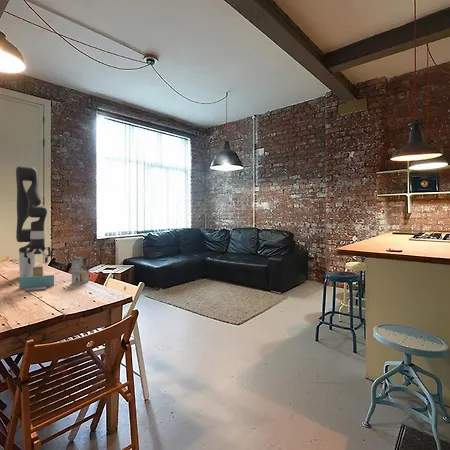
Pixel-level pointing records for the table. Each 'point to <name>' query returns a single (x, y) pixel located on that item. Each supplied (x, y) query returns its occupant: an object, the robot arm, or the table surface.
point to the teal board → (36, 281)
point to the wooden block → (38, 271)
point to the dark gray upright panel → (35, 288)
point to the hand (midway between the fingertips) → (37, 263)
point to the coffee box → (80, 270)
